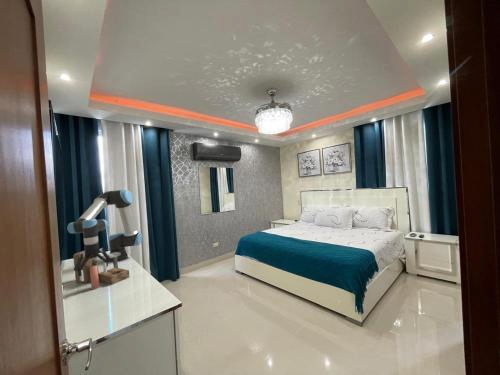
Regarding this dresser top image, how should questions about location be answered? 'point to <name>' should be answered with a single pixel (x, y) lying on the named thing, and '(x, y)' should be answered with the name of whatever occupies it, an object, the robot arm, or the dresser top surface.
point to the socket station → (111, 271)
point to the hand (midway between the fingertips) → (94, 276)
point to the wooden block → (85, 269)
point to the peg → (94, 277)
